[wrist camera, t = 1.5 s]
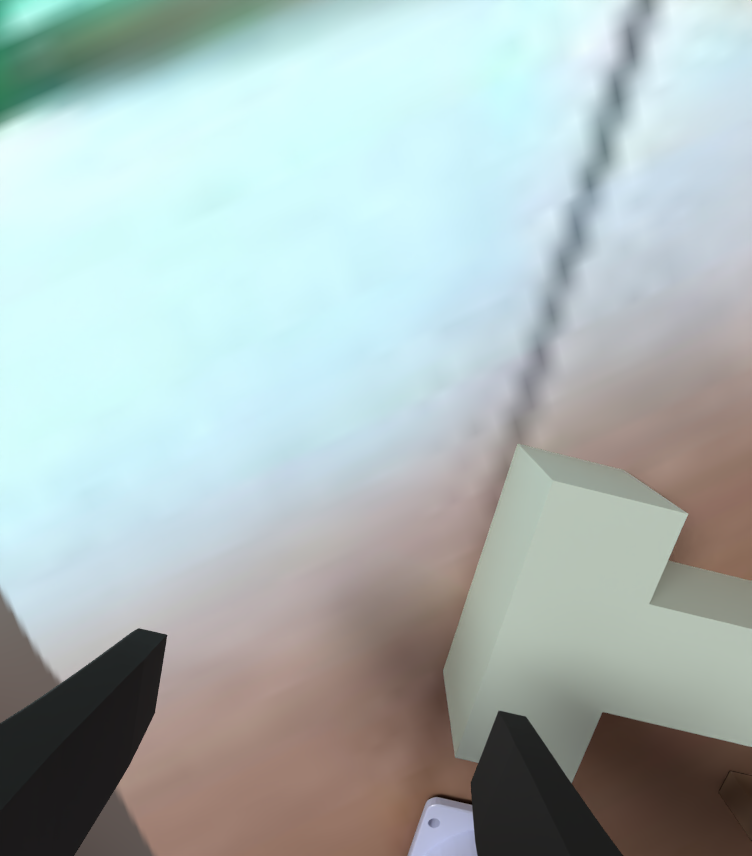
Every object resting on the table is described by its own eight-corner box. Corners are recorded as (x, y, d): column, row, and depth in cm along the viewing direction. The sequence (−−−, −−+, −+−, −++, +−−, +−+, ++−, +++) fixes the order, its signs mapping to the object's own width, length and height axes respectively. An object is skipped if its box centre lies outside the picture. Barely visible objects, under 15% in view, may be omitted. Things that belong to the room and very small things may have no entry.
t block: (720, 736, 20) (799, 837, 16) (442, 670, 20) (455, 757, 16) (830, 520, 18) (953, 579, 14) (517, 443, 18) (553, 480, 14)
